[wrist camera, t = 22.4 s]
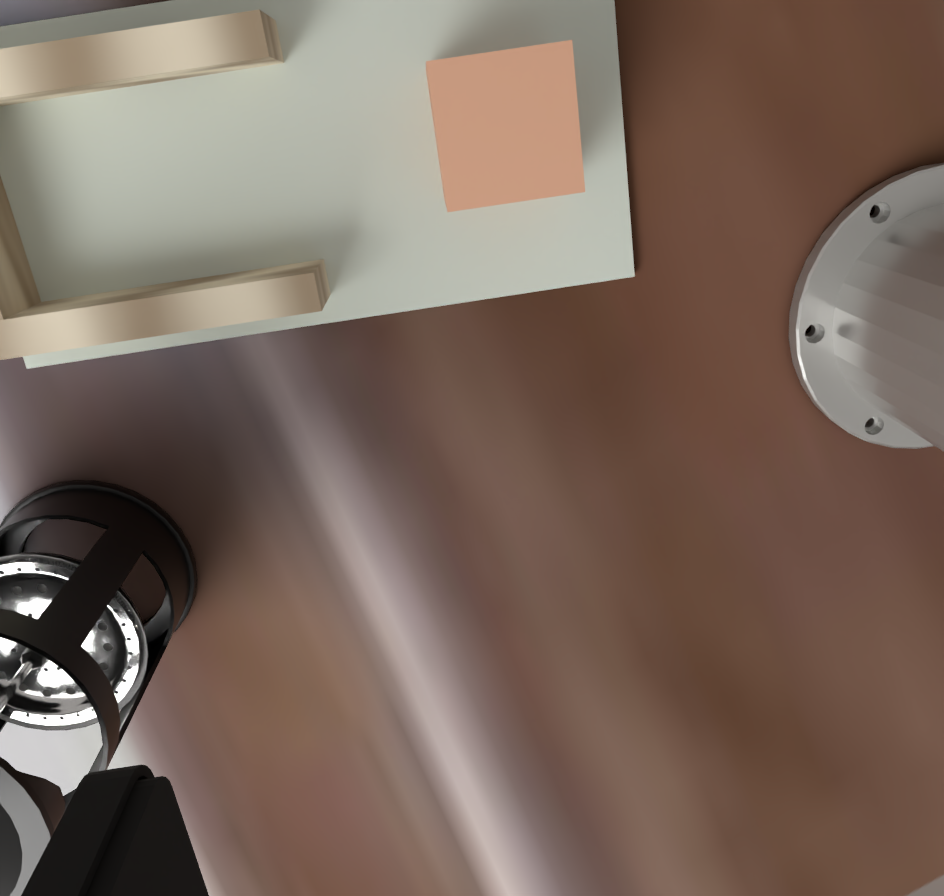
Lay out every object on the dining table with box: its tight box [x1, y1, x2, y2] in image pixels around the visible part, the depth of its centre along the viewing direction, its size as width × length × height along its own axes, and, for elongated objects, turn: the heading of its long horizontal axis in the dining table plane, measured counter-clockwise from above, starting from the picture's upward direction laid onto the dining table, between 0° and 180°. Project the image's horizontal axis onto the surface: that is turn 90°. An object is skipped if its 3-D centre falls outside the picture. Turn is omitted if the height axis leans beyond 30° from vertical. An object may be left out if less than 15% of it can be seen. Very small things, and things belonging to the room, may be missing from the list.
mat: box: [0, 0, 635, 369], centre depth 35 cm, size 26×13×1 cm, turn 98°
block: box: [426, 40, 585, 212], centre depth 32 cm, size 5×5×5 cm
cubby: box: [0, 9, 331, 360], centre depth 33 cm, size 14×11×4 cm
